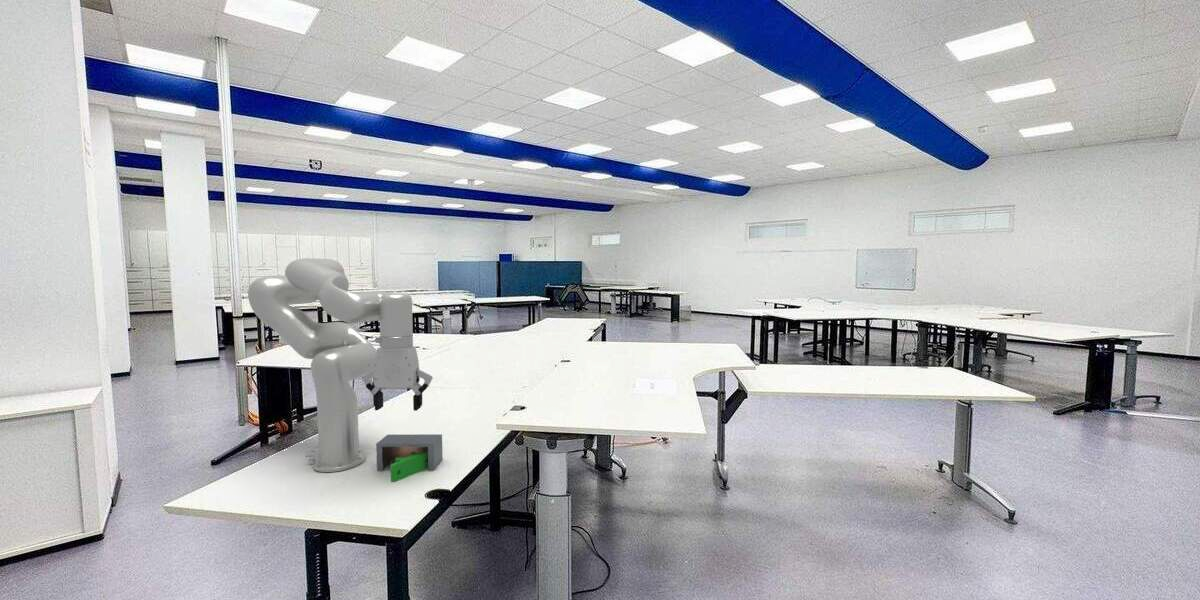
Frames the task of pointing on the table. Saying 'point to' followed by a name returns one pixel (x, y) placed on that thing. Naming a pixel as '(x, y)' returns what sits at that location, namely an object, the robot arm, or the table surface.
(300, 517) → the table surface
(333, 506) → the table surface
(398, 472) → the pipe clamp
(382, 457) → the grey sleeve
